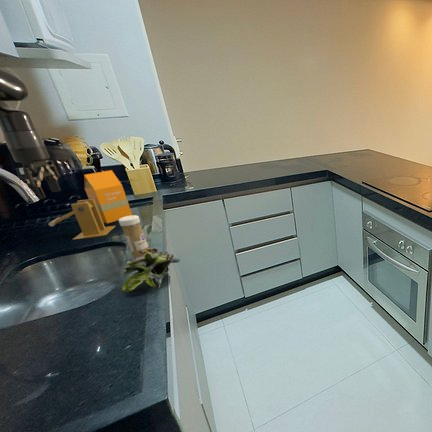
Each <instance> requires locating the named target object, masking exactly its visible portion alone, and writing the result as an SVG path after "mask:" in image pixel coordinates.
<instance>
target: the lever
mask: <svg viewBox="0 0 432 432" xmlns="http://www.w3.org/2000/svg"><path fill="white" fill-rule="evenodd" d="M86 202H88V201H86ZM86 202H84V203H86ZM89 204H90V203H89ZM90 207H93V206H92V205H91V204H90ZM73 215H75V213H74V211H73V210H72V211H70V212H67V213H66V214H64V215H61V217H60V216H59V217H57V218H55V219H53V220H51V221H50V222H48V226H49V227H54V226H56V225H57V224H59V223H61V222H62V221H64V220H65V219H68V218H69V217H71V216H73Z"/></svg>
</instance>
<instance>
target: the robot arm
mask: <svg viewBox="0 0 432 432" xmlns="http://www.w3.org/2000/svg"><path fill="white" fill-rule="evenodd" d="M29 96H30V91H29V88H28V86H27V84H25V82H24V81H23V80H21V79H20V78H19V77H17V76H16V75H14V74H12V73H10V72H9V71H7V70H5V69H1V68H0V131H1V133H2V136H3V139H4V141H5V144H6V146H7V149H8V151H9V152H10V154H11V156H12V158H13V160H14V162H15V163H18V164H22V167H16V168H15V172H16V175H17V177H18V179H19V181H20V180H22V181H23V182H24V183H26V184H27V185H28V187H29V188H28V189H30V190H31V192H32V191H33V192H34V193H35V195H36V196H37V197H38V198H39V199H38V200H44V199H46V198H47V196H46V194H45V192H44V190H43V188H42V186H41V185H42V183H41V182H43V180H45V181H46V182H47V185H48V188H49V189H50V192H52V193H59V192H61V191H62V189H61V186H60V184H59V181H58V180H59V178H60V177H61V174H60V172H59V170H58V168H57V165H56V164H55V162H54V160H51V155H50V154H49V151H48V149H47V147H46V145H45V143H44V141H43V138H42V136H41V134H40V133H39V131H38V129H37V127H36V125H35V123H34V120H33V118H32V116H31V114H30V113H29V112H28V111H26V110H23V109H16V108H13V107H11V106H10V105H9V104H8V103H7V102H21V101H22V102H23V101H25V100H26V99H28V98H29ZM33 192H32V193H33Z"/></svg>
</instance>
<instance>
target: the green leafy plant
mask: <svg viewBox="0 0 432 432" xmlns="http://www.w3.org/2000/svg"><path fill="white" fill-rule="evenodd" d="M139 253H141V254H143V255H144V257H143V256H141V257H137V258H136V259H134V260H132V261H127V262H126V264H127V266H124V267H122V269H123V270H124V273H123V274H122V279H125V278H126V277H127V276H129V275H130V274H132V275H130V276H129V277H128V278H127V279H126V281H125V282H124V283H123V285H122V288H121V292H122V293H124V294H125V293H129V292H132V291H133V290H136V289H137V287H139V286H140V285H142V283H144V282H145V283H146V284H147V285H148V286H149V287H151V288H156V284H155V283H154V280H155V282H156V283H157V284H158V288H157V290H158V291H159V290H160V288H161V284H162V281H163V278H164V277H165V273H167V272H169V271H170V268H169V266H170V265H171V264H176V263H180V261H181V259H180V258H176V257H174V254H170V253H169V251H165V252H164V251H160V252H159V249H158V248H157V247H155V248H149V249H146V251H145V250H144V251H140V252H139ZM153 279H154V280H153Z"/></svg>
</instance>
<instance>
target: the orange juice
mask: <svg viewBox="0 0 432 432" xmlns="http://www.w3.org/2000/svg"><path fill="white" fill-rule="evenodd" d="M83 176H84V177H83V180H84V181H83V182H84V191H85V193H86V195H87V198H88V200H89V199H94V200H95V203H96V205H97V208H98V210H99V213H100V215H101V218H102V221H103V223H104V224H110V223H113V222H116V221H119V219H120V218H122V217H126V216H131V215H133V212H132V210H131V206H130V204H129V201H128V198H127V196H126V192H125V190H124V189H125V188H124V187H123V184H122V182H121V181H120V180H119V178H118V177H117V176H116V174H115V173H114V171H113V170H112V169H109V170H104V171H99V172H92V173H86V174H84V175H83Z"/></svg>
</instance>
